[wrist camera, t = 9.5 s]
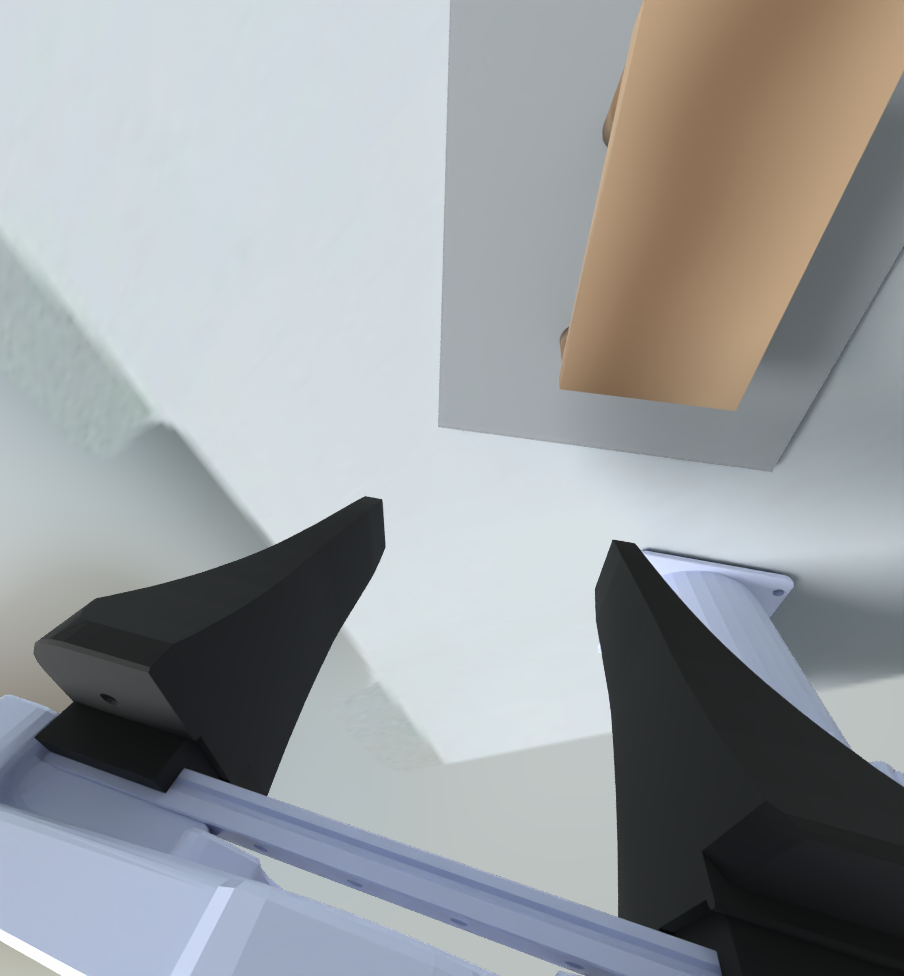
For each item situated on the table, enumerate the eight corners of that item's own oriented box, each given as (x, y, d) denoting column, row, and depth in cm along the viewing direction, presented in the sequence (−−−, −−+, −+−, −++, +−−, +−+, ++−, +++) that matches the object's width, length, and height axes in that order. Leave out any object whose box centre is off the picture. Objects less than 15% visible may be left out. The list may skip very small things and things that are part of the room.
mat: (765, 465, 17) (771, 471, 17) (440, 422, 20) (438, 426, 19) (1093, -112, 9) (1126, -134, 8) (456, -49, 12) (452, -63, 11)
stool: (775, 102, 11) (954, -33, 6) (675, 365, 15) (735, 411, 10) (607, 102, 12) (648, -16, 7) (557, 352, 16) (559, 389, 11)
